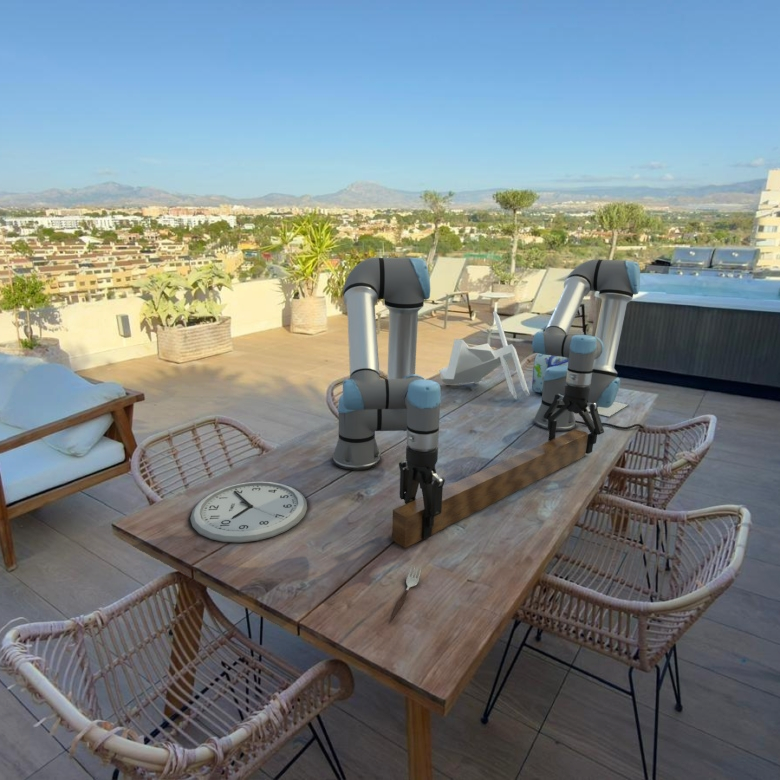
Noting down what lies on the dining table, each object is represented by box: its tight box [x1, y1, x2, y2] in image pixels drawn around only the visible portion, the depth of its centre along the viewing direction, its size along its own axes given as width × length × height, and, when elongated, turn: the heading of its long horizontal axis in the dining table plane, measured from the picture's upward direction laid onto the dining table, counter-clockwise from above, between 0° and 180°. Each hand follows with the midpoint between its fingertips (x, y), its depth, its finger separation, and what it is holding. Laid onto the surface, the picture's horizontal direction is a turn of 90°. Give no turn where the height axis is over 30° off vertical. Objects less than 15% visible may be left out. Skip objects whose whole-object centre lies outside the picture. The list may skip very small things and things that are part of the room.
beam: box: [391, 428, 589, 549], centre depth 151 cm, size 83×5×8 cm, turn 131°
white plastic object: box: [438, 310, 531, 400], centre depth 245 cm, size 37×45×31 cm
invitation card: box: [587, 401, 629, 418], centre depth 226 cm, size 21×1×15 cm
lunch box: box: [531, 353, 569, 394], centre depth 244 cm, size 26×11×21 cm, turn 135°
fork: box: [391, 565, 422, 620], centre depth 108 cm, size 3×16×2 cm, turn 160°
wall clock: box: [190, 481, 308, 544], centre depth 139 cm, size 30×2×30 cm
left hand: (418, 531), depth 130 cm, fingers closed on beam, 5 cm apart
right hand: (569, 446), depth 172 cm, fingers open, 13 cm apart
